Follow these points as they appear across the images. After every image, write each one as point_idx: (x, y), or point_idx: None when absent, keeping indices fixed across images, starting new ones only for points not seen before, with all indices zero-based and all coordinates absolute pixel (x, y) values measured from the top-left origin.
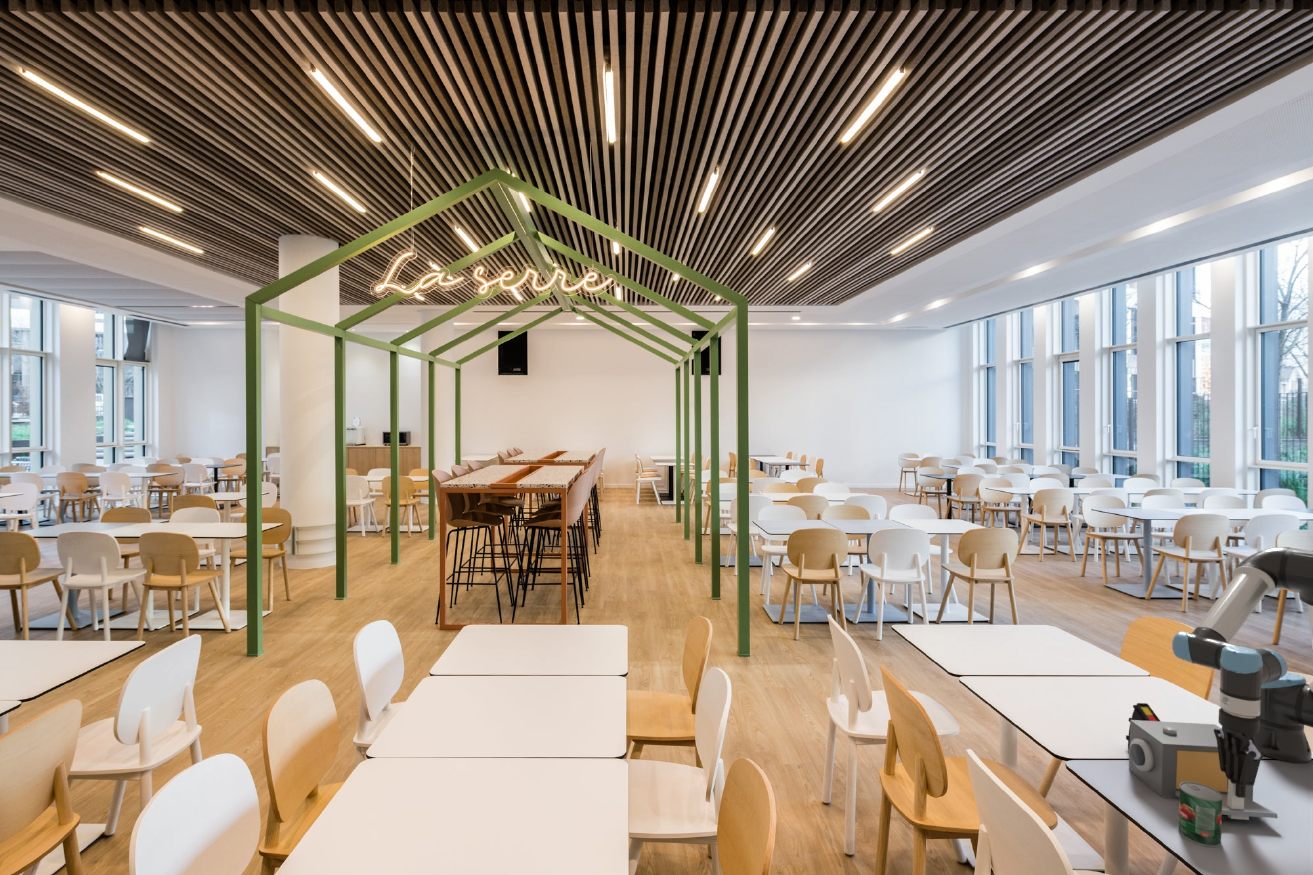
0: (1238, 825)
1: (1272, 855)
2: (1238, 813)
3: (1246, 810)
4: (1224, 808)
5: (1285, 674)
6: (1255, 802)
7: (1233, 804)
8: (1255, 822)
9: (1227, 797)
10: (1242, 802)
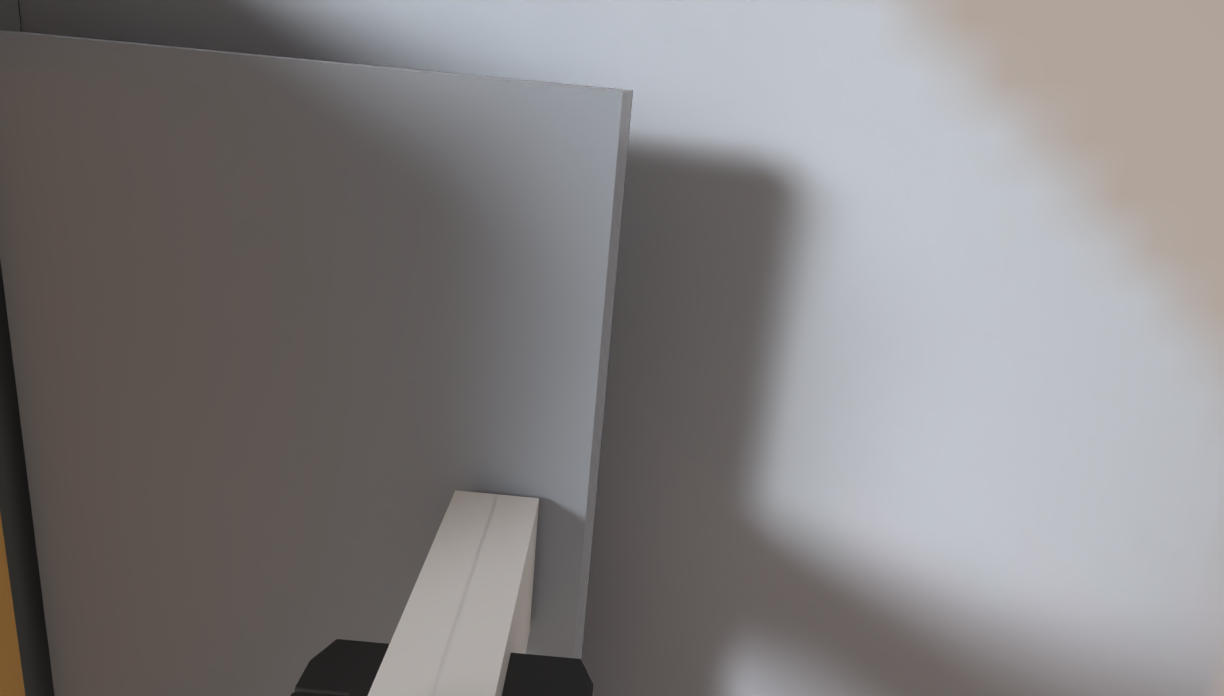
0: None
1: (1094, 571)
2: (584, 575)
3: (544, 462)
4: None
5: None
6: (222, 56)
7: (523, 652)
8: None
9: (120, 333)
10: (524, 567)
